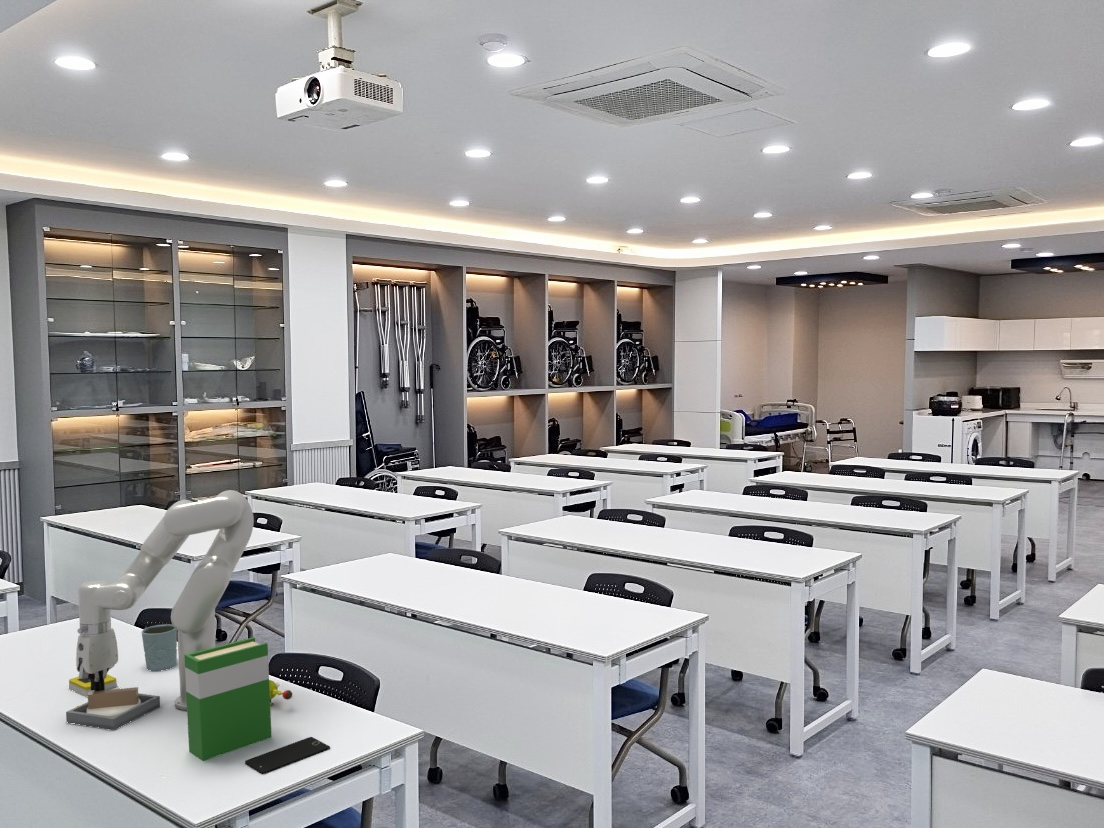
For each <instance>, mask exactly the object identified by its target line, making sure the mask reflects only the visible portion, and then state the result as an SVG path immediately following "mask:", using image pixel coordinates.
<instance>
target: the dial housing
mask: <svg viewBox="0 0 1104 828" xmlns="http://www.w3.org/2000/svg"><path fill="white" fill-rule="evenodd" d="M138 696H139V699H140V701H141V704H139V705H137V706H135V707H133V708H131V709H129V710H127V711H125V712H123V713H121V714H119V715H117V716H115V717H110V716H103V715H96V714H89V713H87V708H88V701H87V702H85V703H82V704H80V705H77V706H75V707H73V708H72V709H69V710H67V711H65V716H66V719H65V720H66V723H67V722H68V723H67V724H70V723H75V724H74V725H76V724H80V725H79V726H82V725H86V726H85V727H89V726H92V727H91V728H95V727H99V728H98V729H102V728H104V729H103V730H108V729H109V730H110V731H116V730H118V729H119V727H120V728H121V726H122V727H123V725H124V726H126V725H128V724H130V723H131V722H133V721H135V720H137V719H140V718H142V717H143V716H145V715H147V714H149V713H151V712H153V711H155V710H158V709H159V708H160V707H161V699H160V698H161V696H160V695H152V694H146V693H140V692H138ZM144 714H145V715H144ZM130 721H131V722H130ZM129 722H130V723H129ZM127 723H128V724H127ZM125 724H126V725H125ZM117 728H118V729H117Z"/></svg>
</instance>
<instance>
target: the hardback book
mask: <svg viewBox="0 0 1104 828" xmlns="http://www.w3.org/2000/svg"><path fill="white" fill-rule="evenodd" d="M268 648H269V645H268V643H267V642H263V643H258V642H256V637H253V636H252V637H249V638H246V639H243V640H242V639H241V640H238V641H234V642H233V641H232V642H230V643H226V644H221V645H217V646H215V647H213V648H209V649H205V650H201V651H197V652H193V653H190V654H186V655H184V657H185V677H186V697H187V710H186V712H187V713H186V716H187V731H188V732H187V733H188V752H189V753H191V755H193V756H195V757H196V758H197V759H198V760H200V761H202V762H204V761H207V760H211V759H214V758H216V757H219V756H221V755H224V754H228V753H230V752H234V751H235V750H239V749H242V748H245V747H248V746H251V745H253V744H257V743H259V742H262V741H265V740H269V739H272V716H271V715H272V714H271V706H270V689H269V680H270V671H269V669H270V668H269V649H268Z"/></svg>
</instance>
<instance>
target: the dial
mask: <svg viewBox="0 0 1104 828" xmlns="http://www.w3.org/2000/svg"><path fill="white" fill-rule="evenodd" d="M138 693H139V687H138V686H137V687H136V686H135V687H125V688H121V689H114V690H103V691H95V690H91V691H89V692H88V698H87V702H88V708H87V713H89V714H96V715H103V716H110V717H115V716H117V715H119V714H121V713H123V712H125V711H127V710H129V709H131V708H133V707H135V706H137V705H139V704H141V701H140V699H139V696H138Z"/></svg>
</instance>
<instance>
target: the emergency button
mask: <svg viewBox="0 0 1104 828" xmlns="http://www.w3.org/2000/svg"><path fill="white" fill-rule="evenodd" d="M68 686H69V689H71V690H70V691H72V690H73V691H72V692H74V691H75V692H74V693H77V694H78V695H80V696H82V697H84V698H87V699H88V692H89V691H91V681H89V680H88V679H87V678H86V679H82V678H79V676H76V677H72V678H70V679H69V680H68ZM119 687H120V686H118V683H117V678H116V677H114V676H112V675H110V674H108V673H107V676H106V678H105V679H104V688H105V690H114V689H120V688H121V687H120V688H119ZM69 689H68V690H69Z"/></svg>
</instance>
